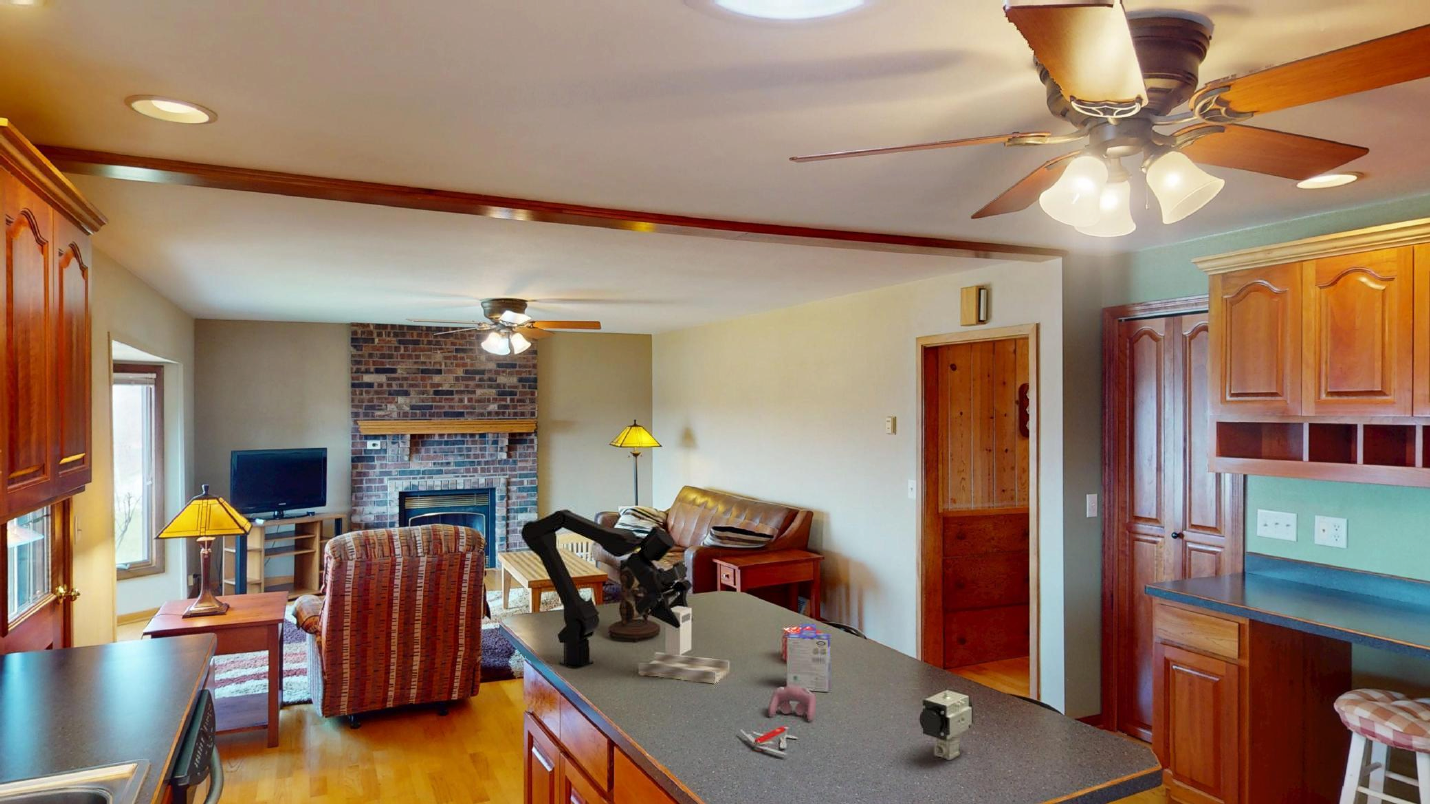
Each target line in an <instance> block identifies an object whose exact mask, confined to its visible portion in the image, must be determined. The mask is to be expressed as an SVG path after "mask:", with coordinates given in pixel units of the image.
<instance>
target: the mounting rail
mask: <svg viewBox="0 0 1430 804" xmlns="http://www.w3.org/2000/svg"><path fill="white" fill-rule="evenodd" d="M653 656H654V657H653V660H652V661H651V662H644V661H643V662H641V661H640V662H638V675H639V674H644V675H649V676H648V677H652V676H659V677H658V678H660V677H664V678H663V679H668V678H674V679H673V680H676V679H681V680H680V681H684V680H691V681H690V682H692V681H697V682H696V683H699V682H708V683H714V684H713V685H716V684H717V683H719V682H720V681H721V680H722V679H723V678H724V677H726V674H727V675H728V674H729V673H730V660H727V659H718V658H717V659H716V658H711V657H710V658H709V657H708V658H707V657H700V656H699V657H698V656H690V655H683V654H681V655H677V654H671V653H664V652H657V651H656V652H654V654H653ZM644 675H643V676H644ZM723 676H724V677H723ZM721 678H722V679H721ZM720 679H721V680H720ZM719 680H720V681H719ZM716 682H717V683H716ZM715 683H716V684H715Z"/></svg>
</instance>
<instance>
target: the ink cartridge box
mask: <svg viewBox="0 0 1430 804" xmlns="http://www.w3.org/2000/svg"><path fill="white" fill-rule="evenodd" d="M800 627H801V632H800V633H789V635H788V637H787V661H786V687H787V686H795V687H801V688H804V689H806V690H809V691H810V692H812V691H813V692H825V693H826V692H827V693H828V692H829V690H830V687H831V635H830V633H823V634H817V630H818V628H817V624H816V623H803V622H801V626H800ZM804 627H812V628H814V630H804V629H803V628H804Z"/></svg>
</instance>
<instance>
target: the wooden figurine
mask: <svg viewBox="0 0 1430 804" xmlns="http://www.w3.org/2000/svg"><path fill="white" fill-rule="evenodd" d="M619 582H620V584H621V586H620V591H621V592H620V593H619V595H618V596H619V599H620V602H619V608H618V611H619V616H620V618H621V620H618V621H616V622H613V624H611V625H609V626H608V633H609V637H610V636H612V637H617V638H622V639H623V638H624V639H625V638H626V639H633V640H634V642H635V643H636V642H637V643H638V640H639V639H640V638H649V637H653V636H655V635H656V636H659V635H660V632H661V625H660V624H659V623H657V622H656V621H653V620H649V619H648V618H649V615H648V613H649V612H650V609H649V608H650V607H648V608H647V612H646V614H643V615H641V616H639V614H638V613H637V612H636V610H635V604H636V603H637V602H638V601H639V600H640V599H641V598H642V597H643V596H644V594H645V593H646V592H645V590H644V589H643V588H641V589H639V588H638V587H637V585H638V584H639V582H638V581H637V580H636V578H635V577H634V576H633V574H632V573H631V572H630V570H629V569H628V570H625V571H621V572H620V571H619ZM639 594H643V595H642V596H637V595H639ZM636 596H637V598H636V599H635V597H636ZM641 617H642V618H641Z"/></svg>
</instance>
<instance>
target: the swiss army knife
mask: <svg viewBox="0 0 1430 804" xmlns="http://www.w3.org/2000/svg"><path fill="white" fill-rule="evenodd" d="M789 728H790V727H788V726H779V727H777V728H775V729H773V730H771V731H769V732H767V733H765V734H762V733H759V732H756V731H754V730H753V731H751V732H752V734H753V735H755V736H756V737H758V738H755V737H753V736H752V734H750V733H748V734H747V733H746V732H745V731H744V730H743V729H739V732H740V733H741V734H742V735H743V736H744V737H746V738H747V739H748V741H750V742H751V743H752V744H753V745H754V751H757V752H763V751H767V752H771V753H774V754H776V755H782V756H788V755H789V754H787V753H786V752H783V751H780V750H776V749H773V748H771V747H773V746H775V745H776V744H778V743H780V744H779V748H780V749H783V750H784V749H785V748H787V746H788V744H787V738H788V739H799V737H797V736H795V735H792V734H787V730H788V729H789ZM777 742H778V743H777ZM774 744H775V745H774ZM772 745H773V746H772ZM769 746H771V747H769ZM768 747H769V748H768Z"/></svg>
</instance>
